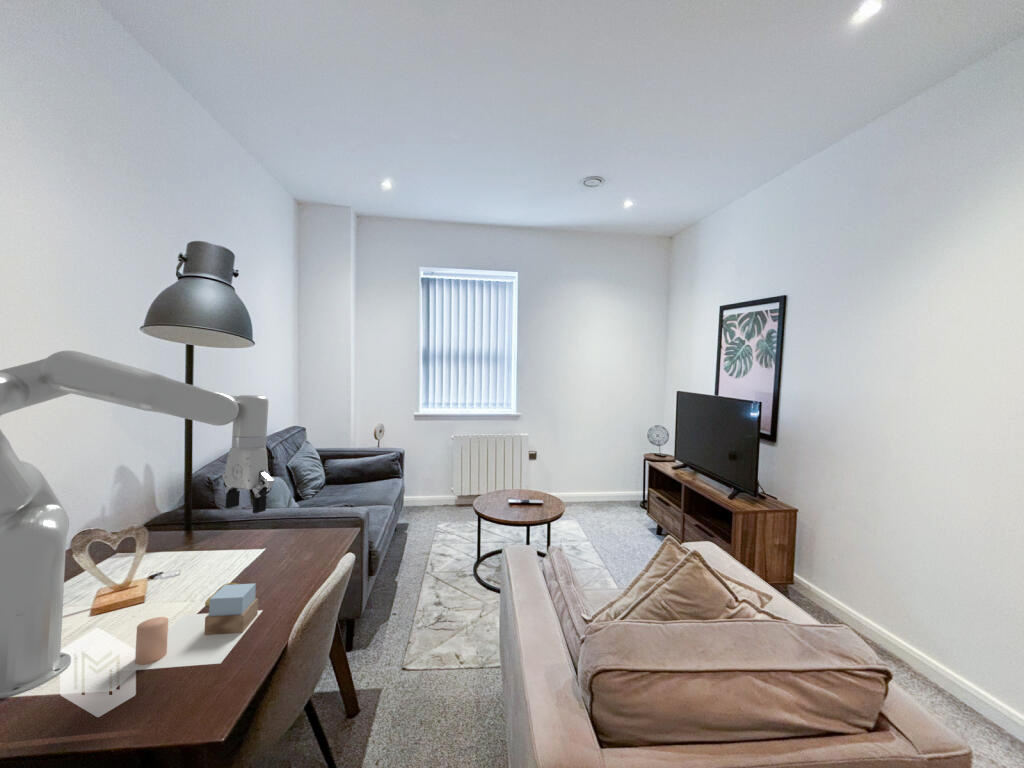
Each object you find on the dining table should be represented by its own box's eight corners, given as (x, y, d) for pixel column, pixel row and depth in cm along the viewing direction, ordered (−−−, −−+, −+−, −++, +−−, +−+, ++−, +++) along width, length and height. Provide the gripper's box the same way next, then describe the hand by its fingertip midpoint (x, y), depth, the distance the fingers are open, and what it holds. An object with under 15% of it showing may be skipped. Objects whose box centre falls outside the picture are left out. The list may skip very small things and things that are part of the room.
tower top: (208, 616, 95) (209, 598, 95) (224, 601, 102) (224, 584, 102) (242, 614, 96) (242, 597, 96) (255, 599, 103) (255, 583, 103)
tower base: (204, 635, 94) (205, 617, 95) (222, 616, 102) (223, 600, 102) (242, 632, 96) (243, 615, 96) (257, 614, 104) (258, 598, 104)
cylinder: (128, 665, 84) (130, 631, 84) (145, 650, 88) (147, 617, 89) (156, 663, 84) (158, 629, 85) (172, 648, 89) (173, 616, 90)
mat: (120, 674, 82) (120, 671, 82) (184, 617, 103) (184, 614, 103) (220, 666, 85) (220, 663, 85) (262, 612, 106) (262, 610, 106)
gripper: (211, 441, 106) (207, 508, 105) (260, 447, 100) (256, 518, 99) (239, 439, 113) (236, 502, 112) (286, 444, 107) (283, 510, 106)
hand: (245, 509), depth 106 cm, fingers open, 9 cm apart
